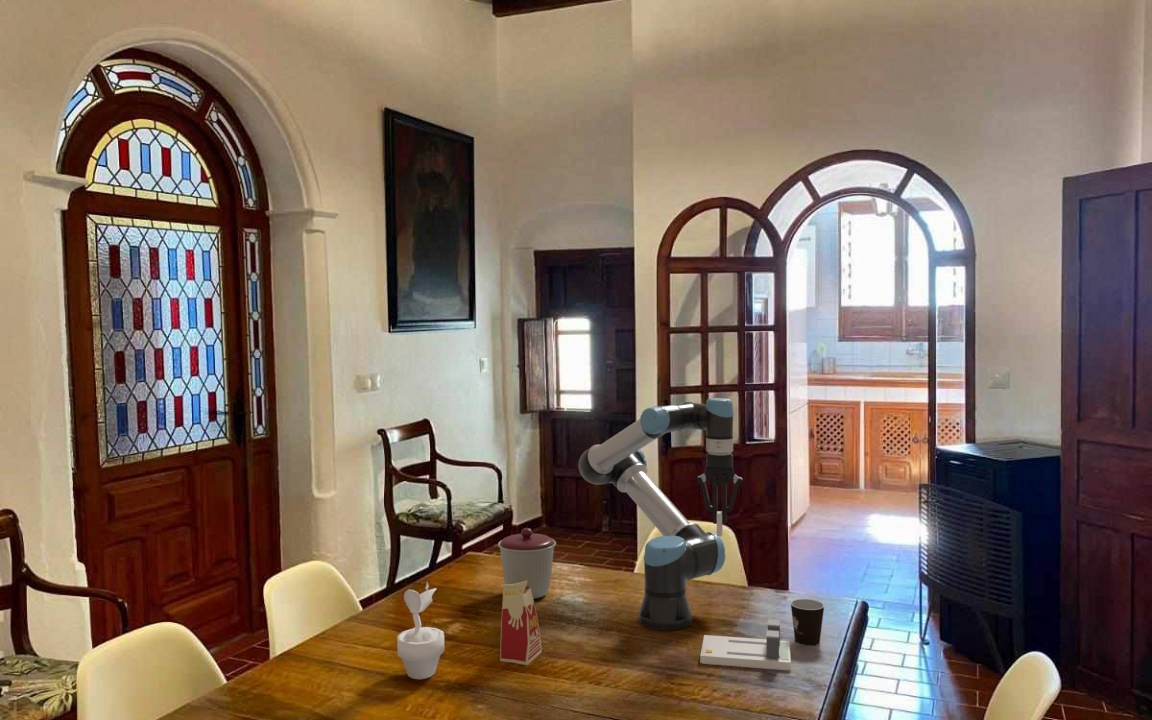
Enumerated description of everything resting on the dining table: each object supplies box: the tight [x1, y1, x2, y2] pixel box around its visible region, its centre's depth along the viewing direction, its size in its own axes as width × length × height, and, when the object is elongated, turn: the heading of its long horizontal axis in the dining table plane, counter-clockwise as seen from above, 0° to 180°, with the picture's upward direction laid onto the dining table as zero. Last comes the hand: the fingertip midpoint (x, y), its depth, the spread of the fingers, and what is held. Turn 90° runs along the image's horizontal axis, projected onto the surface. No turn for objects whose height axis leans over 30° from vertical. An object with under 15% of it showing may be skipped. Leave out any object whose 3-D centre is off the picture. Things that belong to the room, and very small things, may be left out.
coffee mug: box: [790, 598, 825, 647], centre depth 229 cm, size 12×9×10 cm
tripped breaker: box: [766, 629, 779, 658], centre depth 213 cm, size 3×4×5 cm
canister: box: [497, 527, 557, 600], centre depth 268 cm, size 18×18×21 cm
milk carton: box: [499, 580, 543, 666], centre depth 220 cm, size 9×9×20 cm
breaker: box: [767, 618, 781, 646], centre depth 221 cm, size 3×4×5 cm
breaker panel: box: [699, 634, 792, 671], centre depth 219 cm, size 22×14×2 cm, turn 77°
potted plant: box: [396, 582, 445, 680], centre depth 209 cm, size 13×12×25 cm
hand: (719, 535), depth 244 cm, fingers closed
